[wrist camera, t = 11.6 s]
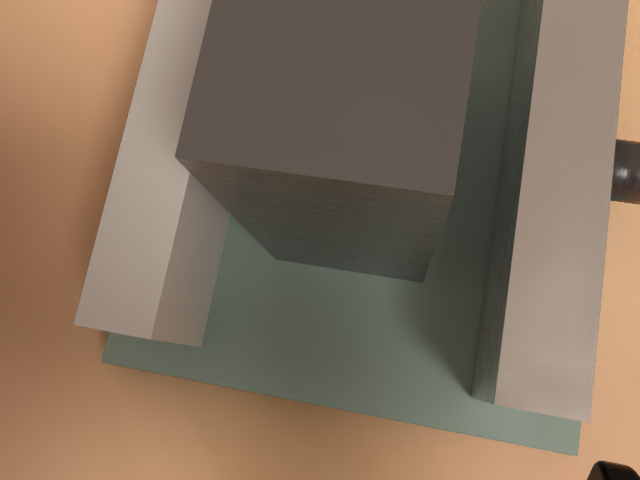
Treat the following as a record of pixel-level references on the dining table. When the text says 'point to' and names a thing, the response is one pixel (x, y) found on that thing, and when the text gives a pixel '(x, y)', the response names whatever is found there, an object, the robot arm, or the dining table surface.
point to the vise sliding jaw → (555, 209)
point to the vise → (300, 269)
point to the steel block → (334, 125)
